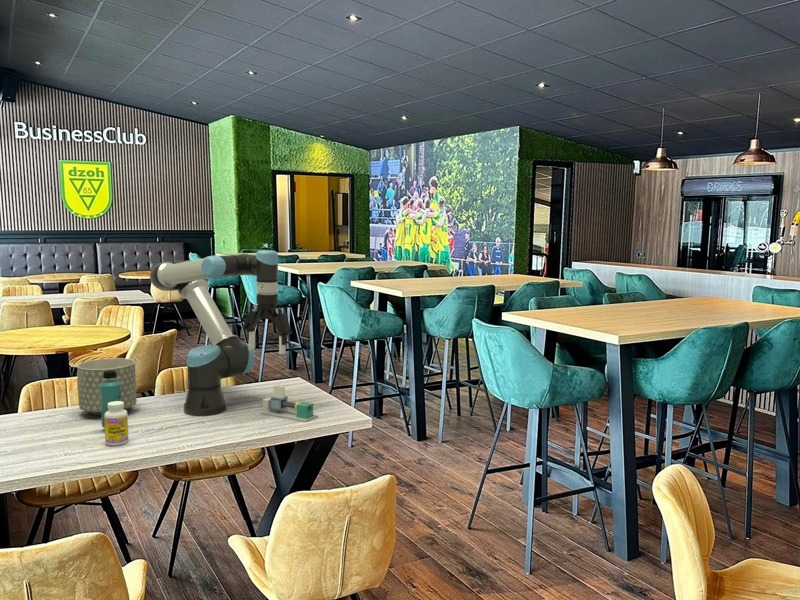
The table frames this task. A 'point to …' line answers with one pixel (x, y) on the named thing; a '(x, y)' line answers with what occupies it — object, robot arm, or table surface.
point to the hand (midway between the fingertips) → (266, 351)
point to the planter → (93, 378)
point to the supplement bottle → (116, 424)
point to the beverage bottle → (109, 392)
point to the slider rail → (302, 413)
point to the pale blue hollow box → (278, 398)
